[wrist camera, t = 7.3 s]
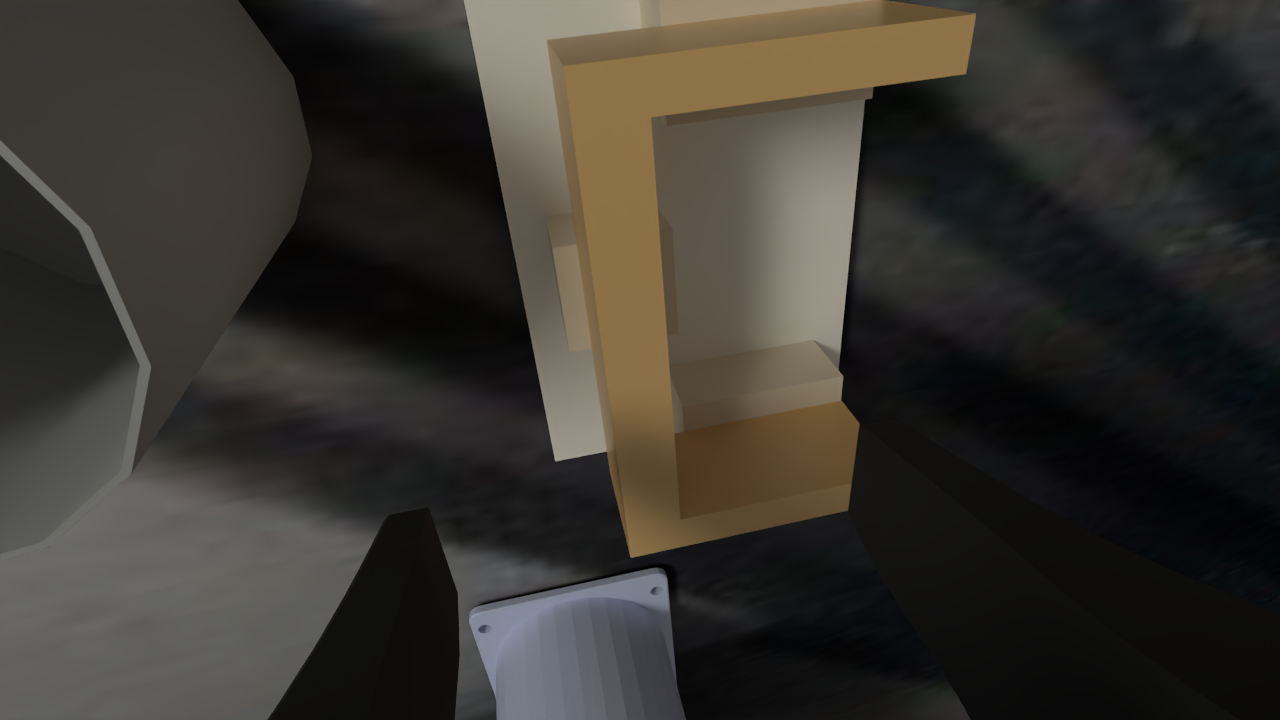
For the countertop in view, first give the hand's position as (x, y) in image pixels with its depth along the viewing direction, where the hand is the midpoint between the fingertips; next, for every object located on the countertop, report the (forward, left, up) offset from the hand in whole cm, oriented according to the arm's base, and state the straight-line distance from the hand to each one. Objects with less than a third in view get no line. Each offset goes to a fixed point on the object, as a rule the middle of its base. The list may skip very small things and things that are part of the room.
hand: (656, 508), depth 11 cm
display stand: (0, -3, -10) cm, 11 cm away
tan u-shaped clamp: (0, -3, -7) cm, 8 cm away
